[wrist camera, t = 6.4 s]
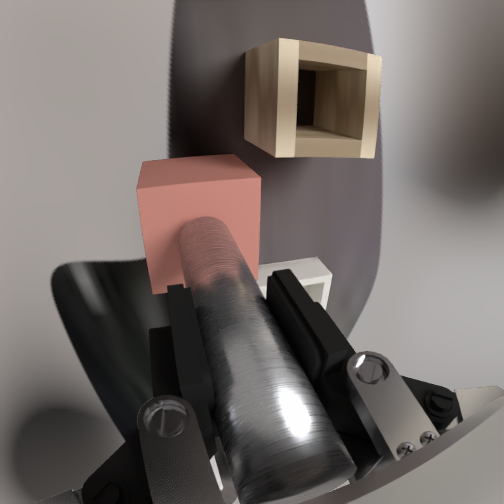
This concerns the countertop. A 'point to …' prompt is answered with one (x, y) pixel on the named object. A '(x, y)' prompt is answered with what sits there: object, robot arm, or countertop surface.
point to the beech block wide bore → (326, 100)
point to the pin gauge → (257, 379)
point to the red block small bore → (196, 209)
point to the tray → (301, 277)
